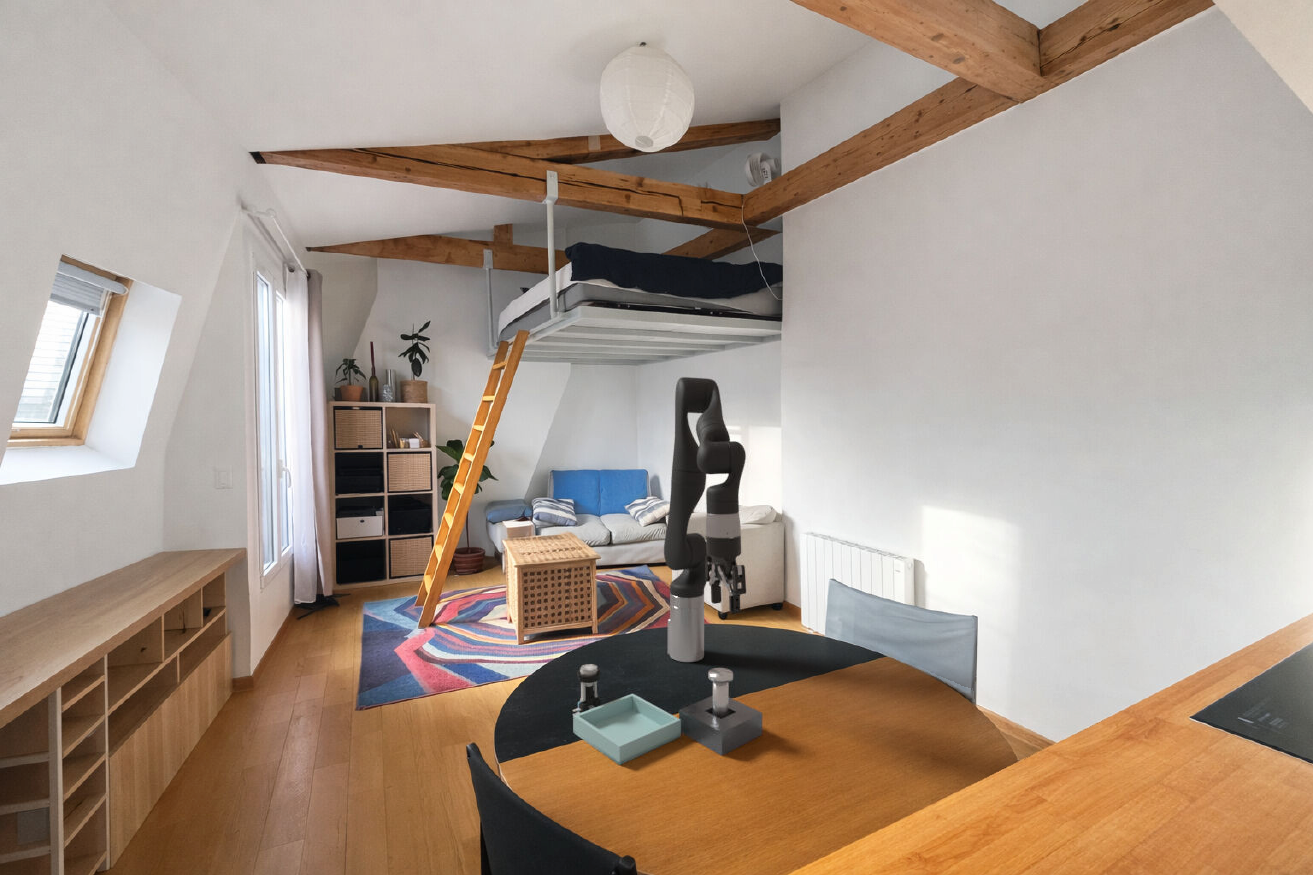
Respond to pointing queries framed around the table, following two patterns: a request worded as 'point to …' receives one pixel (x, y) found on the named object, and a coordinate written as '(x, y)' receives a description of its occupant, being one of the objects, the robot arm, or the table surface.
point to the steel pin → (720, 690)
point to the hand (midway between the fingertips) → (725, 607)
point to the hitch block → (720, 725)
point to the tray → (626, 728)
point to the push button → (588, 688)
